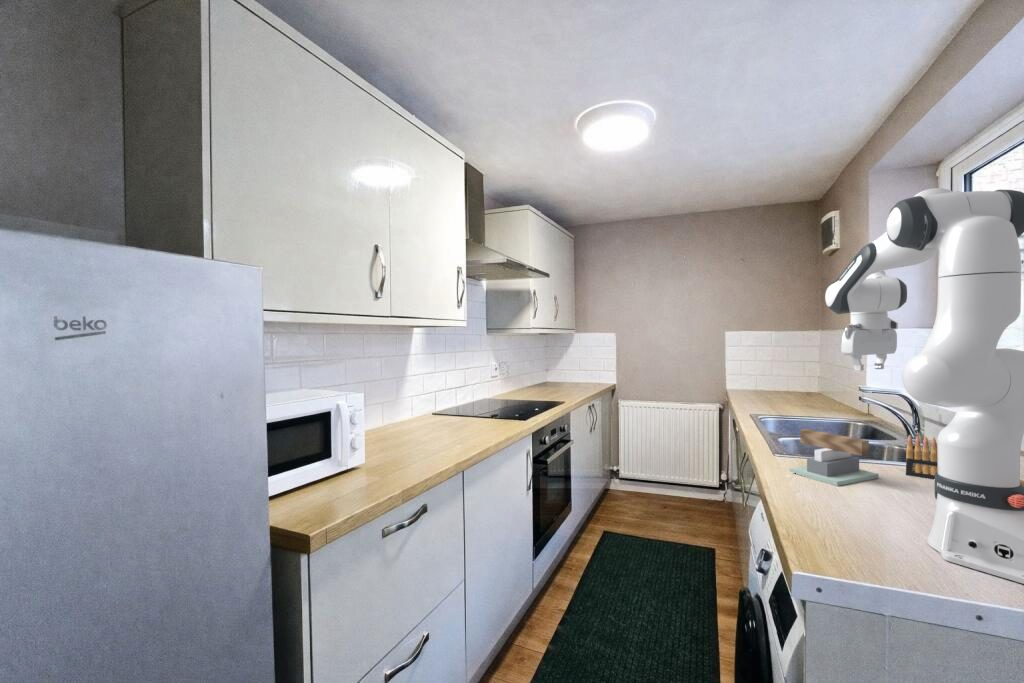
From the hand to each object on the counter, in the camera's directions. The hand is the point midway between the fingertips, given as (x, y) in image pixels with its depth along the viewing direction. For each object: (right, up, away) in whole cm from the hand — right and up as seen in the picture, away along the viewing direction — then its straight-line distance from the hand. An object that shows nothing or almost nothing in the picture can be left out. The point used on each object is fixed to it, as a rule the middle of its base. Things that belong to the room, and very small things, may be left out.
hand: (869, 369), depth 138 cm
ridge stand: (-12, -31, -1) cm, 34 cm away
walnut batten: (-12, -23, -1) cm, 26 cm away
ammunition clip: (+13, -31, -5) cm, 34 cm away
